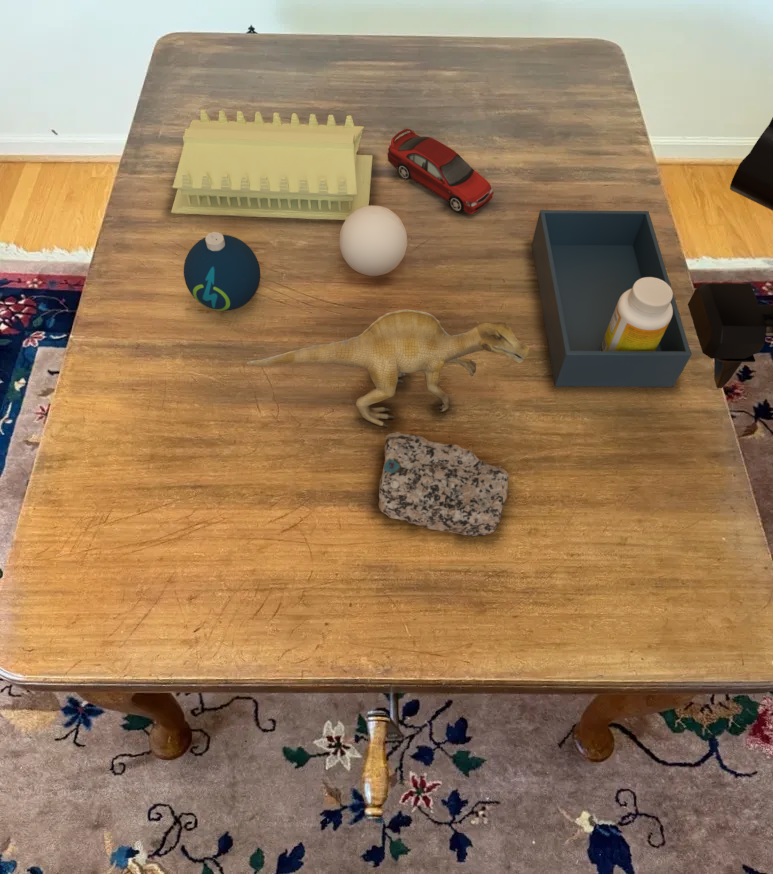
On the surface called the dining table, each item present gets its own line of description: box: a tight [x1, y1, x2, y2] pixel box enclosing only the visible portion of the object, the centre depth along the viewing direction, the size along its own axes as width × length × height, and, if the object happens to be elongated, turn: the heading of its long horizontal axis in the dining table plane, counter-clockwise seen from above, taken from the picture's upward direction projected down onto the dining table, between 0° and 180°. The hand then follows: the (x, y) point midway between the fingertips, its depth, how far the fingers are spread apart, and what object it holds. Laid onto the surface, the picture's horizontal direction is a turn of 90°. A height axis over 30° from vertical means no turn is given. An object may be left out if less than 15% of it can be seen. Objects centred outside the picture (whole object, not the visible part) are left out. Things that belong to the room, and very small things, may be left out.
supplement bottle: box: [600, 277, 674, 351], centre depth 78 cm, size 6×6×10 cm
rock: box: [378, 431, 510, 537], centre depth 71 cm, size 13×9×4 cm
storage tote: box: [531, 209, 692, 388], centre depth 85 cm, size 22×13×6 cm, turn 1°
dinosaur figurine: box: [246, 308, 530, 428], centre depth 74 cm, size 8×26×13 cm, turn 97°
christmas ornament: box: [183, 231, 261, 312], centre depth 83 cm, size 8×8×10 cm
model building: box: [170, 109, 373, 221], centre depth 95 cm, size 25×14×7 cm, turn 88°
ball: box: [338, 205, 408, 277], centre depth 87 cm, size 8×8×8 cm
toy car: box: [386, 128, 495, 215], centre depth 96 cm, size 6×15×5 cm, turn 44°
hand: (769, 384), depth 65 cm, fingers open, 9 cm apart
